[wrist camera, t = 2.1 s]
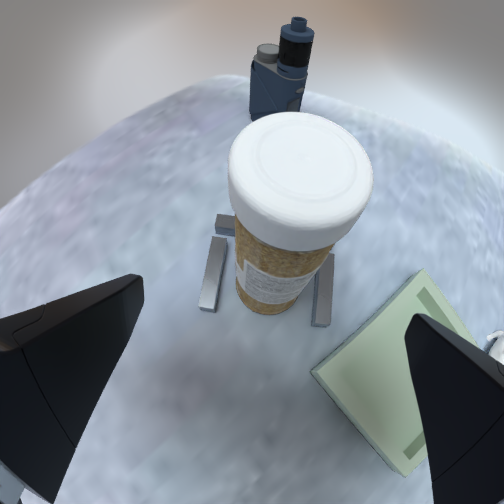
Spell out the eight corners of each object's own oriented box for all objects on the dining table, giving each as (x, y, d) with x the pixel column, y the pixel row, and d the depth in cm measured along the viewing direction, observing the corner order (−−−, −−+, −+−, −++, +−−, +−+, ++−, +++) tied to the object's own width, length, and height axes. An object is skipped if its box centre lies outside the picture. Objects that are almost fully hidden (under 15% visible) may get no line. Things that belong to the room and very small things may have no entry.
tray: (477, 371, 18) (491, 369, 16) (392, 470, 15) (405, 477, 13) (410, 276, 21) (423, 268, 19) (309, 371, 18) (316, 371, 17)
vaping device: (281, 146, 26) (300, 28, 14) (244, 116, 27) (246, 6, 16) (301, 134, 26) (325, 23, 15) (263, 106, 28) (272, 1, 17)
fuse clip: (325, 327, 20) (330, 324, 19) (200, 310, 20) (198, 306, 19) (330, 238, 22) (335, 231, 21) (218, 221, 22) (217, 213, 21)
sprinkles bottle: (249, 245, 22) (259, 93, 9) (308, 267, 21) (384, 134, 9) (225, 302, 20) (199, 190, 8) (288, 326, 20) (365, 249, 7)
